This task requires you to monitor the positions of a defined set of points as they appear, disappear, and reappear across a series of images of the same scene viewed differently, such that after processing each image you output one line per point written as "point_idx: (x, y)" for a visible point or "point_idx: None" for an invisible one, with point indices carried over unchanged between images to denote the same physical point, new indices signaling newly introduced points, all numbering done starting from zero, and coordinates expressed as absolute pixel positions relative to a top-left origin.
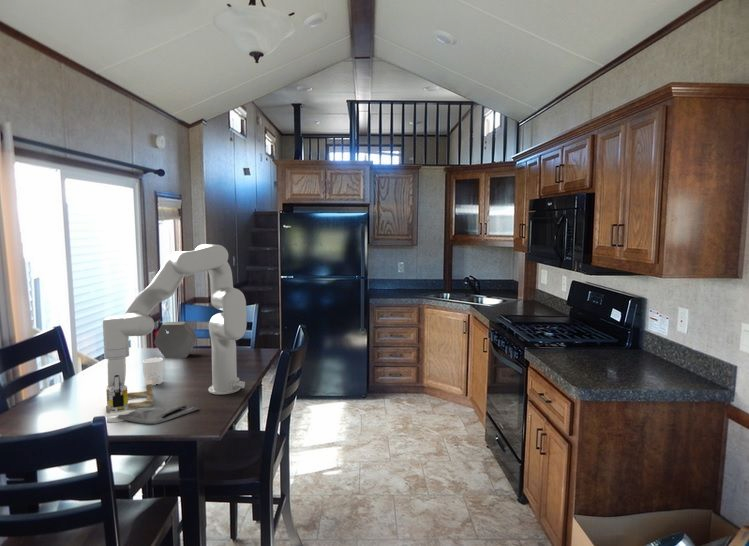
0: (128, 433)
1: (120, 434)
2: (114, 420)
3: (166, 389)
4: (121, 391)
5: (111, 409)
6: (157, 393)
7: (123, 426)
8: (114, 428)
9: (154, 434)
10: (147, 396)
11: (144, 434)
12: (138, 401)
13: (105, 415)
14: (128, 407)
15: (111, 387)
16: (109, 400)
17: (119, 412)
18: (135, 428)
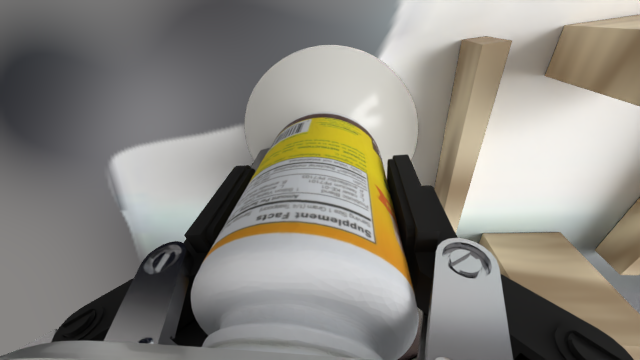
0: (130, 194)
1: (115, 171)
2: (252, 131)
3: (637, 288)
4: (177, 331)
5: (279, 134)
6: (608, 263)
7: (196, 172)
8: (172, 140)
9: (138, 252)
10: (499, 263)
11: (133, 233)
12: (454, 229)
13: (357, 58)
14: (440, 174)
15: (288, 299)
16: (286, 154)
17: (377, 138)
18: (178, 210)
